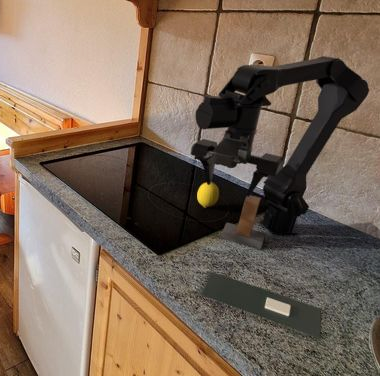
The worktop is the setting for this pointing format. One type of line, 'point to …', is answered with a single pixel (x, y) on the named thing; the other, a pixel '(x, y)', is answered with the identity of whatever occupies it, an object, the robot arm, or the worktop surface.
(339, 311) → the worktop surface
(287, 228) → the robot arm
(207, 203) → the lemon
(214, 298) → the board
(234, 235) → the duster
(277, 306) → the pale pink flat block
